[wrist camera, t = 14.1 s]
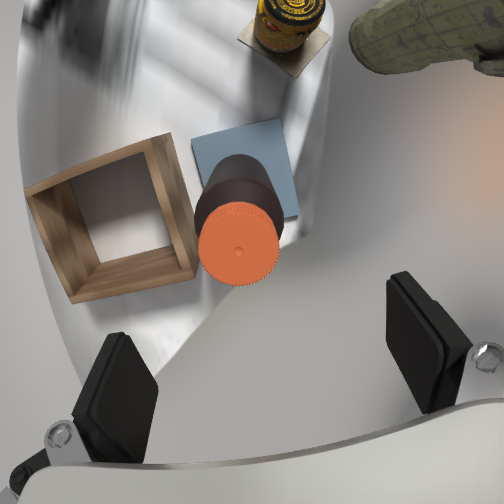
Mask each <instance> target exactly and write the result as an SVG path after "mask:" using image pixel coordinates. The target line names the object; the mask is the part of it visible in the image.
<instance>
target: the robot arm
mask: <svg viewBox="0 0 504 504" xmlns="http://www.w3.org/2000/svg"><path fill="white" fill-rule="evenodd" d="M386 297H387V298H386V299H387V300H386V303H387V304H386V342H387V346H388V348H389V350H390V352H391V354H392V356H393V358H394V359H395V361H396V363H397V365H398V367H399V369H400V371H401V373H402V374H403V376H404V379H405V381H406V382H407V384H408V386H409V388H410V390H411V392H412V394H413V396H414V398H415V400H416V402H417V404H418V406H419V408H420V410H421V412H422V414H427V415H424V416H421V417H419V418H416V419H413V420H410V421H407V422H404V423H401V424H398V425H395V426H392V427H389V428H385V429H382V430H379V431H375V432H372V433H369V434H366V435H362V436H358V437H355V438H351V439H347V440H343V441H339V442H335V443H331V444H327V445H322V446H318V447H313V448H308V449H303V450H298V451H293V452H287V453H281V454H275V455H269V456H263V457H255V458H247V459H239V460H229V461H218V462H203V463H183V464H142V463H143V461H144V457H145V452H146V447H147V442H148V438H149V433H150V428H151V423H152V419H153V414H154V410H155V405H156V401H157V396H158V385H157V383H156V381H155V379H154V378H153V376H152V374H151V373H150V371H149V369H148V368H147V366H146V364H145V363H144V361H143V359H142V357H141V356H140V354H139V352H138V350H137V348H136V347H135V345H134V343H133V341H132V339H131V338H130V336H129V335H126V334H125V333H124V332H117V333H111V334H108V335H107V337H106V339H105V341H104V343H103V345H102V348H101V350H100V352H99V354H98V356H97V358H96V360H95V362H94V364H93V367H92V369H91V371H90V373H89V375H88V377H87V380H86V382H85V384H84V386H83V389H82V391H81V393H80V395H79V398H78V400H77V402H76V405H75V407H74V409H73V412H72V414H71V415H72V416H73V417H74V420H73V422H71V421H69V420H60V421H58V422H56V423H54V424H53V425H52V426H51V427H50V428H49V429H48V430H47V432H46V434H45V437H44V444H45V448H44V449H43V450H41V451H40V452H38V453H37V454H35V455H34V456H32V457H31V458H29V459H27V460H26V461H24V462H23V463H22V464H20V465H18V466H17V467H16V468H15V469H14V470H13V472H12V473H11V476H10V481H9V483H10V488H9V487H7V486H6V487H5V488H4V489H3V490H2V492H1V493H0V504H504V348H503V347H502V346H500V345H498V344H496V343H493V342H481V343H478V344H476V345H473V344H472V343H471V342H470V340H469V339H468V338H467V337H466V335H465V334H464V333H463V332H462V330H461V329H460V328H459V327H458V325H457V324H456V323H455V322H454V320H453V319H452V318H451V317H450V316H449V314H448V313H447V312H446V311H445V310H444V309H443V307H442V306H441V305H440V304H439V303H438V302H437V301H435V300H432V299H431V297H430V296H429V295H428V294H427V293H426V292H425V290H424V289H423V288H422V287H421V286H420V285H419V284H418V283H417V281H416V280H415V279H414V278H413V277H412V276H411V275H410V274H409V272H407V271H404V272H400V273H396V274H393V275H391V278H390V280H387V282H386Z"/></svg>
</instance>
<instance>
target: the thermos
mask: <svg viewBox="0 0 504 504" xmlns="http://www.w3.org/2000/svg"><path fill="white" fill-rule="evenodd" d="M349 44H350V47H351V50H352V52H353V54H354V55H355V57H356V58H357V60H358V61H359V62H360V63H361V64H362V65H363V66H364V67H366V68H367V69H369V70H371V71H373V72H375V73H379V74H384V75H387V74H400V73H407V72H413V71H420V70H422V69H424V68H425V67H427V66H429V65H430V64H431V63H438V62H446V61H453V60H461V59H466V60H469V61H471V62H473V63H474V69H475V70H477V71H479V72H481V73H483V74H486V75H489V76H497V77H504V0H382V1H379V2H377V3H375V4H374V5H372V6H371V7H370V8H368V9H367V10H365V11H364V12H363V13H362V14H361V15H360V16H359V17H358V18H357V19H356V20H355V21H354V22H353V23H352V25H351V28H350V30H349Z"/></svg>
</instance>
